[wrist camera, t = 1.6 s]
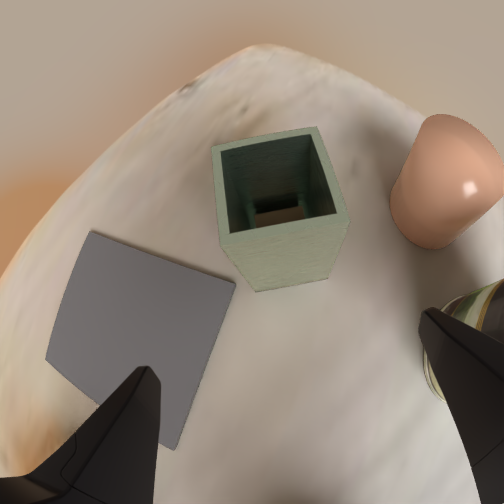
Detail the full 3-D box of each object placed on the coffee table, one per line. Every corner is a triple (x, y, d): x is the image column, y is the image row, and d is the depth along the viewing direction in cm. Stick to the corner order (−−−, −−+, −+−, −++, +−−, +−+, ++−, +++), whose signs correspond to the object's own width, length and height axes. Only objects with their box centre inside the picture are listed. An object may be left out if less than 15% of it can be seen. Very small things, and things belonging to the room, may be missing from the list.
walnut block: (310, 265, 22) (312, 251, 19) (267, 274, 23) (261, 261, 19) (301, 225, 24) (302, 205, 20) (260, 233, 24) (254, 214, 21)
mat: (236, 285, 23) (234, 283, 23) (175, 448, 19) (173, 450, 19) (91, 232, 28) (89, 231, 27) (48, 359, 24) (45, 359, 23)
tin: (327, 278, 22) (350, 221, 12) (255, 292, 23) (220, 246, 13) (312, 213, 24) (317, 126, 14) (245, 226, 25) (211, 146, 15)
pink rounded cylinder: (458, 189, 23) (497, 137, 14) (457, 259, 21) (512, 219, 12) (393, 165, 25) (417, 101, 16) (383, 235, 23) (419, 179, 14)
